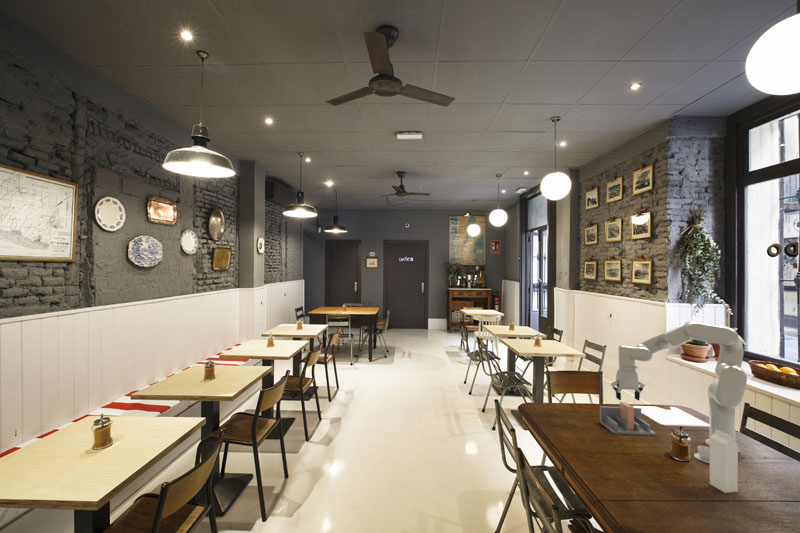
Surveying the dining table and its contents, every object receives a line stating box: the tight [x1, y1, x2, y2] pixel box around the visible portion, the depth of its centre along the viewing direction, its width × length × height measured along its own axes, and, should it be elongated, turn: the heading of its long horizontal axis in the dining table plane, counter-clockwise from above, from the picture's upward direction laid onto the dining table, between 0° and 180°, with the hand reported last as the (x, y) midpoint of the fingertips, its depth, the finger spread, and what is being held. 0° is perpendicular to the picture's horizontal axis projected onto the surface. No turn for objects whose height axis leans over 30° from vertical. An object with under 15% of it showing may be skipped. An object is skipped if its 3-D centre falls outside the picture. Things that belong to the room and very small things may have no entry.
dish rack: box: [599, 405, 657, 436], centre depth 194 cm, size 14×22×9 cm, turn 86°
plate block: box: [619, 401, 634, 430], centre depth 194 cm, size 8×3×12 cm, turn 176°
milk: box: [709, 429, 739, 494], centre depth 141 cm, size 6×6×22 cm
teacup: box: [693, 445, 710, 464], centre depth 162 cm, size 10×10×5 cm
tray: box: [632, 405, 709, 428], centre depth 212 cm, size 28×28×2 cm
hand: (627, 399), depth 194 cm, fingers open, 9 cm apart
